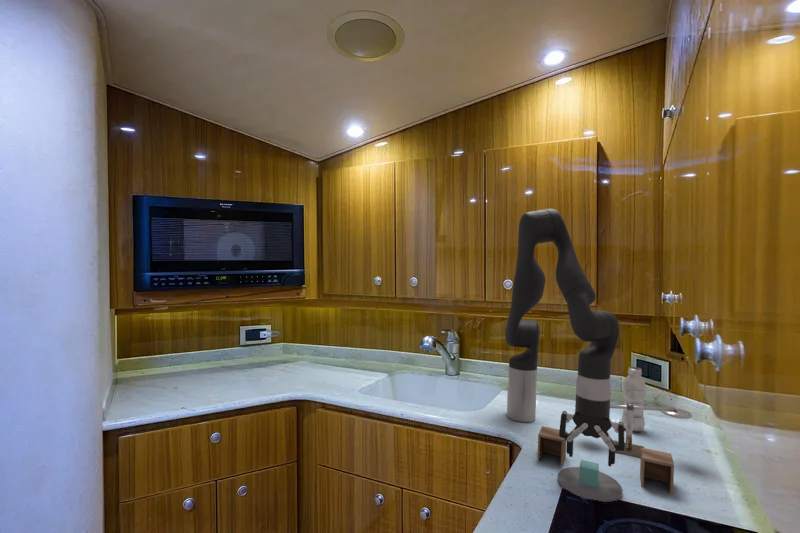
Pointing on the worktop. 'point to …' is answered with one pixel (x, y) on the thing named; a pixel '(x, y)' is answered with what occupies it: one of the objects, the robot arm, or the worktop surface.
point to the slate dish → (604, 492)
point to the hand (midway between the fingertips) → (590, 460)
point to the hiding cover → (551, 443)
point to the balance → (629, 447)
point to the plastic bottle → (634, 397)
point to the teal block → (588, 473)
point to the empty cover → (657, 466)
